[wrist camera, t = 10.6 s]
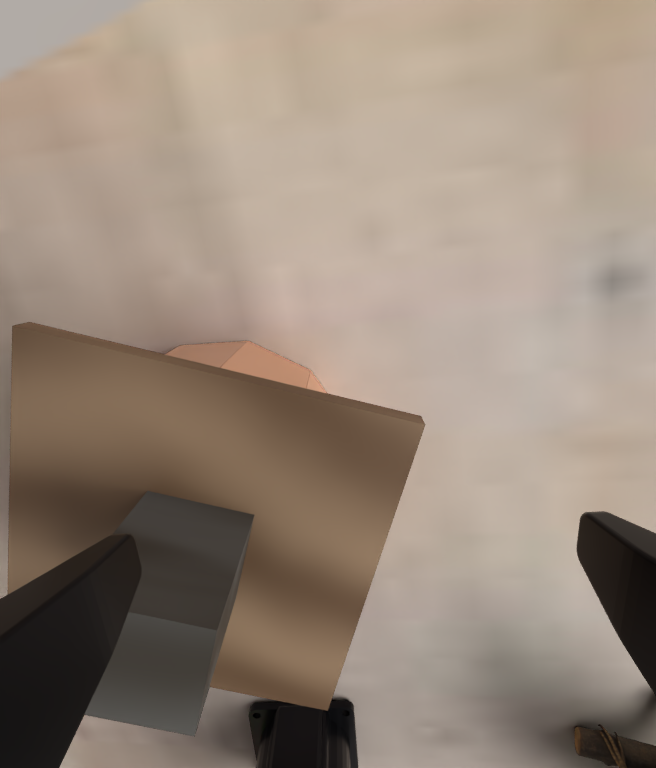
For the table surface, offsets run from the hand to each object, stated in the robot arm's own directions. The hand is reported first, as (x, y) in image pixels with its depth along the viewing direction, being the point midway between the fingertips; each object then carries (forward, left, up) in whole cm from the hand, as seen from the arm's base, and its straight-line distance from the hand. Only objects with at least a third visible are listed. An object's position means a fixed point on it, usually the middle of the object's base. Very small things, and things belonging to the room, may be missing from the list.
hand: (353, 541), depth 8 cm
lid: (-5, +6, -7) cm, 10 cm away
